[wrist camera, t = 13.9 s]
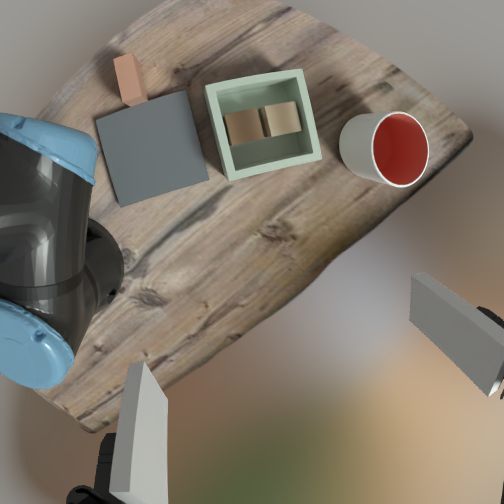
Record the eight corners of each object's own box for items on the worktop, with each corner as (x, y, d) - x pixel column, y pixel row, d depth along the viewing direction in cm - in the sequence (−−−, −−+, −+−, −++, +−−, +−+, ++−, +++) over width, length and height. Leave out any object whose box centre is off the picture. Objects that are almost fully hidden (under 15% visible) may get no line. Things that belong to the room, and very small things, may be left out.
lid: (122, 205, 40) (111, 215, 34) (90, 83, 33) (74, 75, 27) (209, 178, 41) (211, 184, 35) (176, 53, 34) (174, 39, 28)
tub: (224, 176, 41) (229, 181, 36) (203, 93, 37) (205, 85, 31) (305, 156, 42) (322, 159, 37) (288, 77, 38) (302, 68, 32)
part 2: (264, 137, 39) (271, 136, 36) (258, 109, 38) (264, 106, 34) (292, 131, 40) (301, 130, 36) (285, 104, 38) (295, 100, 35)
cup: (324, 129, 41) (358, 128, 32) (374, 105, 41) (414, 101, 32) (351, 187, 45) (387, 200, 36) (397, 160, 45) (437, 168, 36)
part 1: (228, 145, 39) (232, 145, 35) (221, 117, 38) (224, 114, 34) (257, 138, 39) (264, 138, 36) (250, 111, 38) (256, 107, 34)
